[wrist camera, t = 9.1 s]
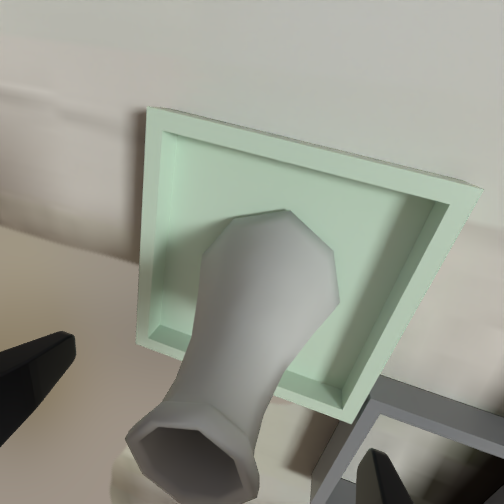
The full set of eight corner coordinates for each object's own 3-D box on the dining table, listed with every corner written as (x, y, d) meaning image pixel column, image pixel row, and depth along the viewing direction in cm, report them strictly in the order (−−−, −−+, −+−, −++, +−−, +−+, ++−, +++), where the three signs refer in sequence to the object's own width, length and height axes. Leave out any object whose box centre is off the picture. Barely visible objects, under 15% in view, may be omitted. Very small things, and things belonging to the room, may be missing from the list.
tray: (349, 395, 18) (351, 424, 17) (153, 324, 20) (135, 343, 18) (462, 180, 12) (484, 189, 11) (170, 108, 14) (146, 106, 13)
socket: (465, 536, 20) (478, 575, 19) (311, 473, 22) (309, 504, 20) (572, 441, 16) (602, 481, 14) (366, 370, 17) (370, 398, 15)
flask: (183, 245, 16) (4, 386, 8) (298, 182, 14) (233, 290, 5) (248, 345, 18) (164, 559, 9) (364, 307, 15) (409, 568, 6)
